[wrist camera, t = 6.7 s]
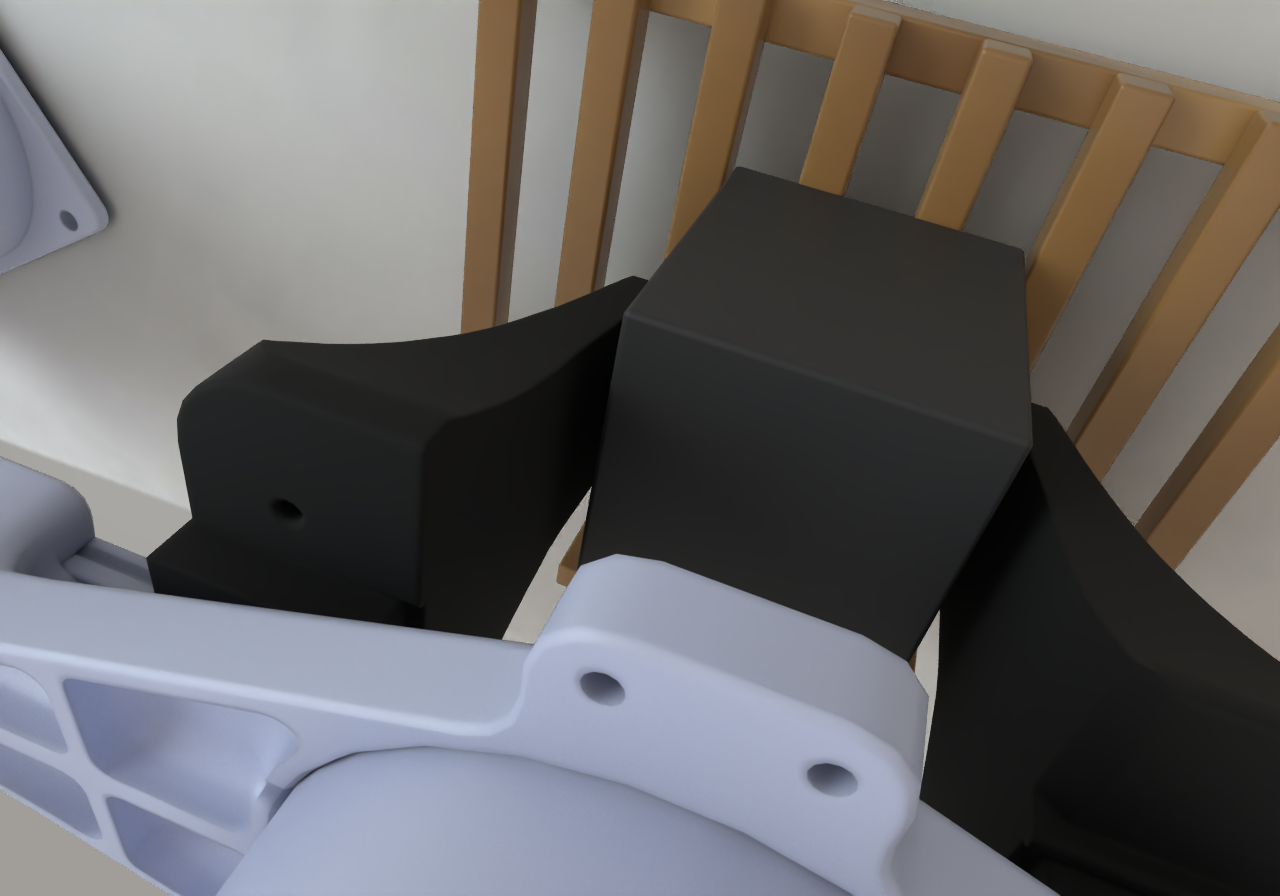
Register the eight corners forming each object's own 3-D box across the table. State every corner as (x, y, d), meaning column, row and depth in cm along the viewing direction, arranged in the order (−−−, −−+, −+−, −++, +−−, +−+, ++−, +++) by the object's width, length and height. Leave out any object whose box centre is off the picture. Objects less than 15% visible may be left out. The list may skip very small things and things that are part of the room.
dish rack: (482, 374, 21) (350, 515, 17) (519, -118, 15) (325, -93, 11) (1114, 593, 19) (1147, 819, 15) (1464, 120, 13) (1697, 273, 9)
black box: (670, 431, 17) (564, 627, 13) (736, 163, 14) (622, 309, 9) (900, 510, 16) (865, 743, 12) (1026, 248, 13) (1036, 443, 9)
